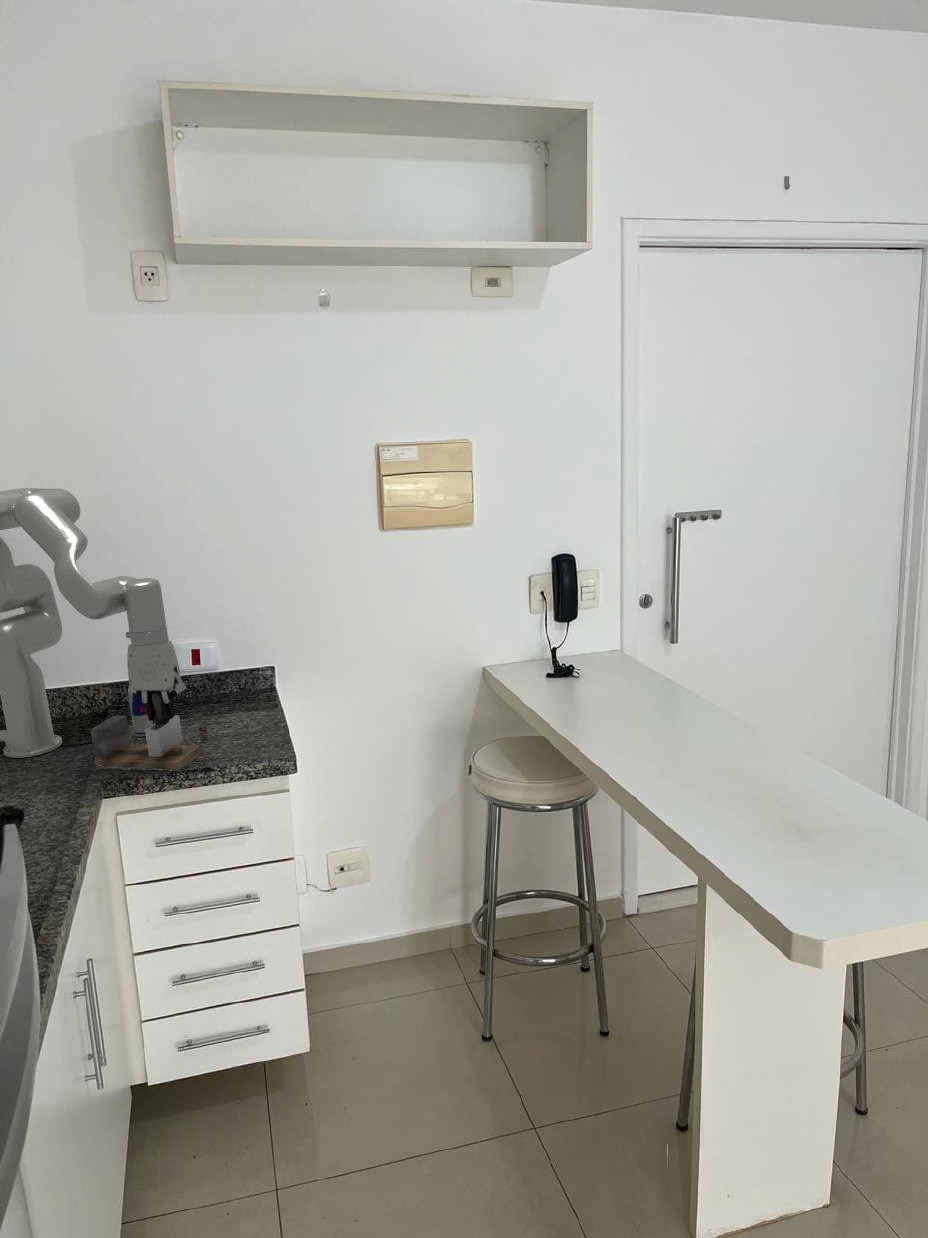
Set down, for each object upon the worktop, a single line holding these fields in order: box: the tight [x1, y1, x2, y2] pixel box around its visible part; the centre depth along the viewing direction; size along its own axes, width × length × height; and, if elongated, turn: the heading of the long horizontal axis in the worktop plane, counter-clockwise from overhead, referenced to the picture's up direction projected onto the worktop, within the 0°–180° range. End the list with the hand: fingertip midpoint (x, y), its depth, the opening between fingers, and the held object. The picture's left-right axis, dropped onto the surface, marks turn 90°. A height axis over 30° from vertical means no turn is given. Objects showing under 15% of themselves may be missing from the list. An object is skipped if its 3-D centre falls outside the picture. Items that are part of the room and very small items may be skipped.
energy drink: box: [127, 686, 155, 737], centre depth 224 cm, size 5×5×12 cm
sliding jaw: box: [145, 691, 184, 756], centre depth 203 cm, size 3×9×14 cm, turn 167°
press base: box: [90, 715, 202, 770], centre depth 206 cm, size 20×10×9 cm, turn 77°
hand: (161, 718), depth 203 cm, fingers closed on sliding jaw, 3 cm apart
